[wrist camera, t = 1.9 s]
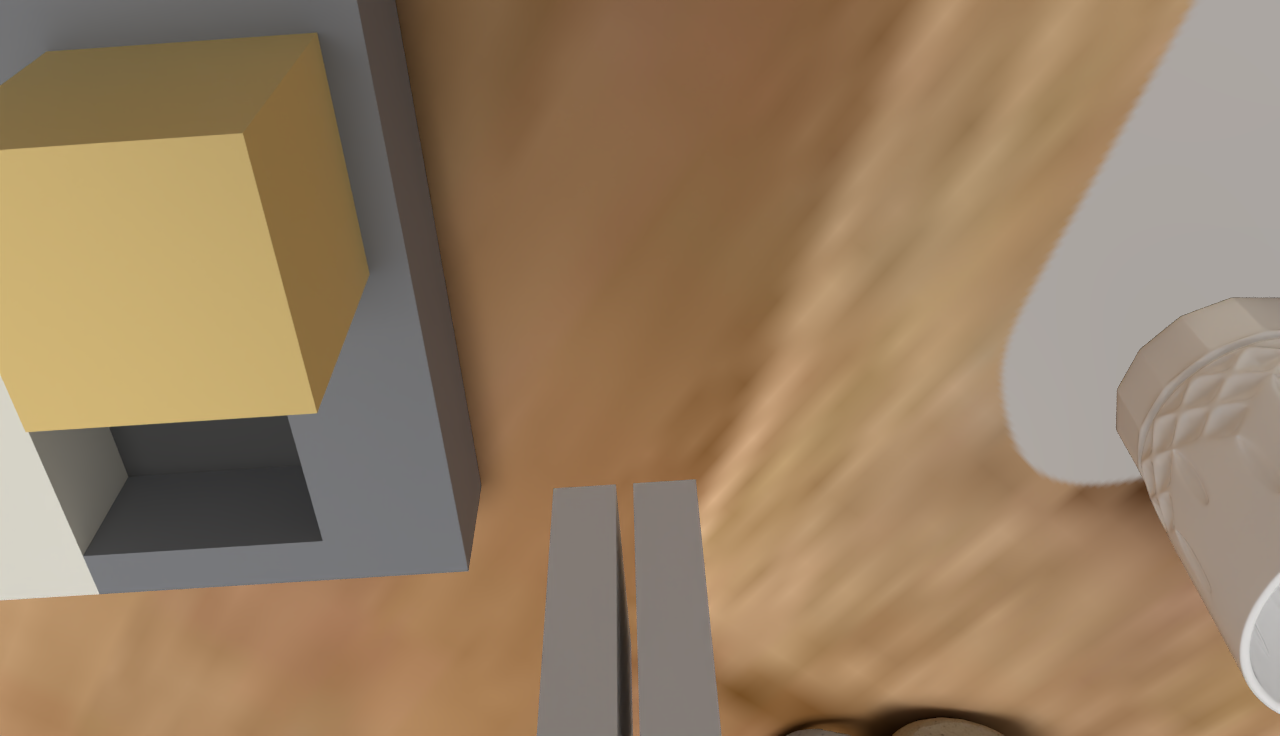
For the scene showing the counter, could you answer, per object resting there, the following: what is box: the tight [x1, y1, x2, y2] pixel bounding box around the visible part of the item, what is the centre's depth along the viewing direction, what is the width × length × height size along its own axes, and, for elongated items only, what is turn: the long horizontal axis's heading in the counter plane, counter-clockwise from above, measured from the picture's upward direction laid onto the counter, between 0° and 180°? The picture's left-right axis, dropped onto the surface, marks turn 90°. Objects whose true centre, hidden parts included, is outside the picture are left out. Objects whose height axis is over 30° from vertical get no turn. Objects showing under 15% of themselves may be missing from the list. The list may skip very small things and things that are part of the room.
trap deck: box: [0, 0, 481, 600], centre depth 27 cm, size 18×26×7 cm
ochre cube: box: [0, 33, 370, 432], centre depth 24 cm, size 6×6×6 cm
